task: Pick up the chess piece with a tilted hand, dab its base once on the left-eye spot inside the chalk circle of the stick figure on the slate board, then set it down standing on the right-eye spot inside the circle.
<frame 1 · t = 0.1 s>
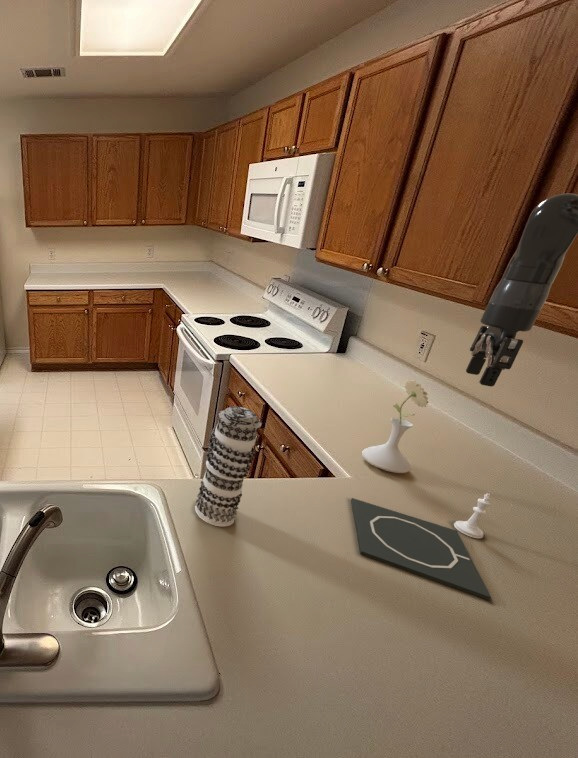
hand: (478, 379, 88), 33 cm above the countertop, tool pointing down, fingers open, 8 cm apart
chess piece: (467, 531, 92), on the countertop
decorative candle: (214, 513, 90), on the countertop
slate board: (410, 543, 86), on the countertop
flower in vase: (382, 464, 116), on the countertop
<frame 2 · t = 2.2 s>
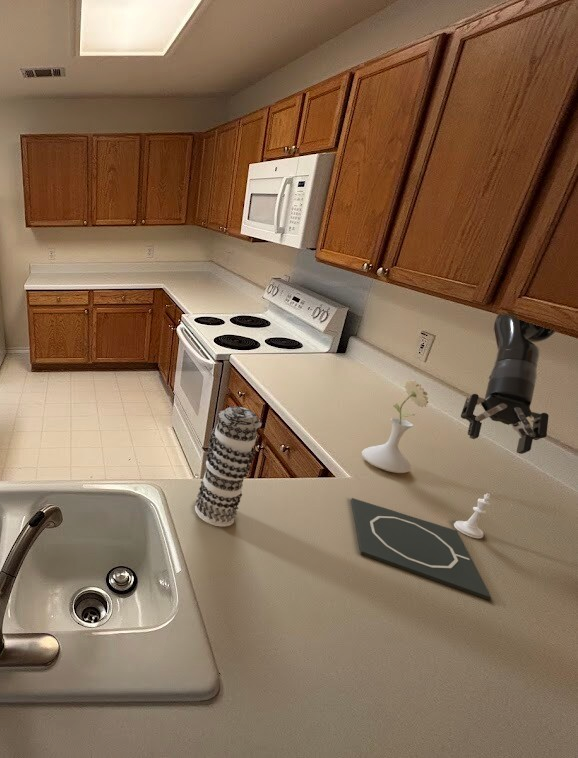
hand: (497, 445, 93), 18 cm above the countertop, tool tilted 40°, fingers open, 8 cm apart
nothing on the countertop moved.
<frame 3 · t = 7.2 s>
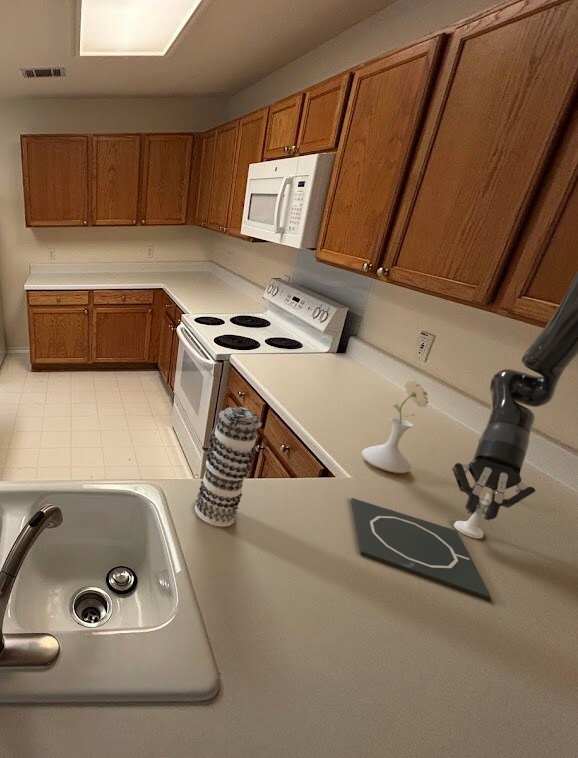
hand: (479, 515, 88), 5 cm above the countertop, tool tilted 45°, fingers closed on chess piece
chess piece: (467, 531, 92), on the countertop, touching gripper
everything else where it was.
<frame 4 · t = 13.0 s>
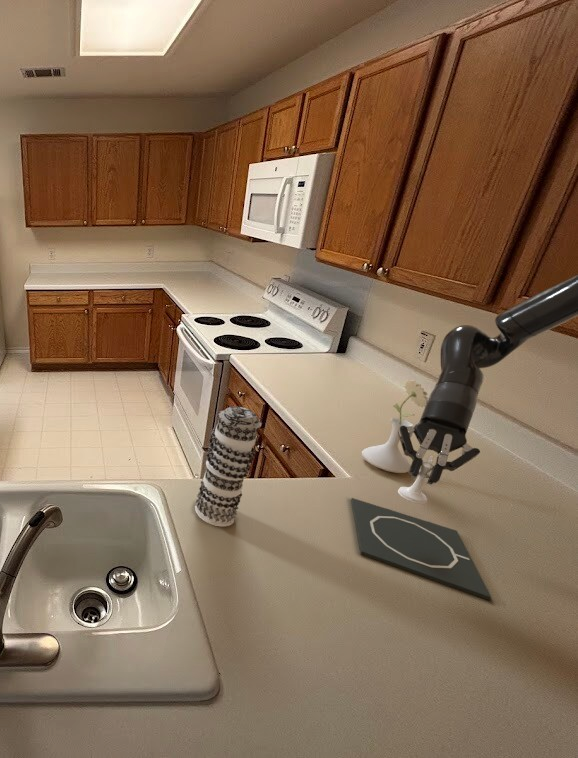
hand: (422, 479, 83), 14 cm above the countertop, tool tilted 45°, fingers closed on chess piece
chess piece: (411, 497, 87), point 9 cm above the countertop, touching gripper
everything else where it was.
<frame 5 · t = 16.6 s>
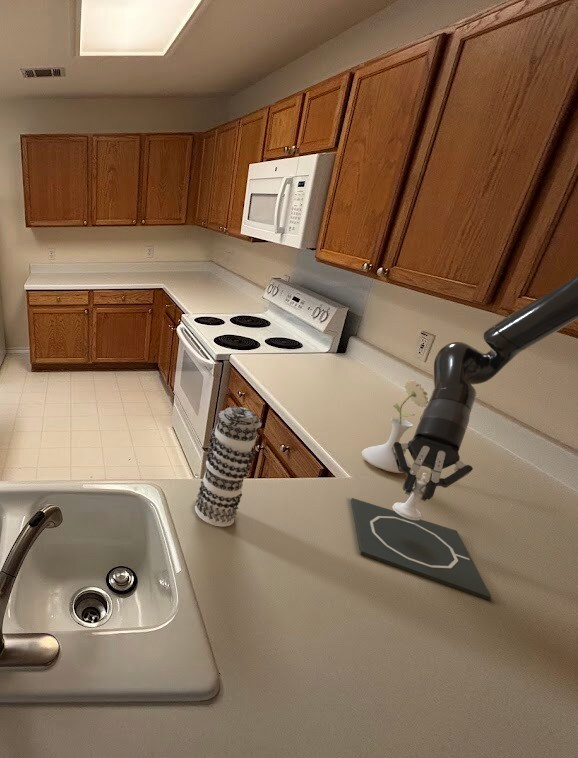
hand: (415, 496, 84), 11 cm above the countertop, tool tilted 45°, fingers closed on chess piece
chess piece: (405, 513, 88), point 5 cm above the countertop, touching gripper
everything else where it was.
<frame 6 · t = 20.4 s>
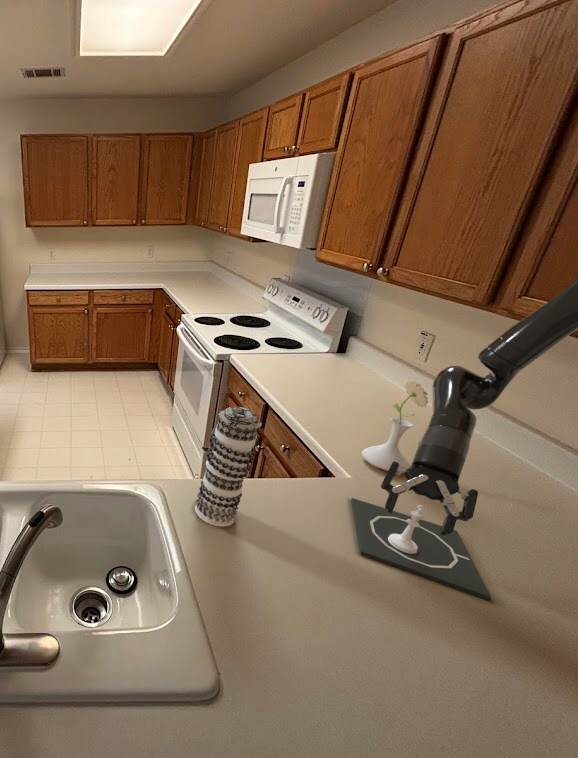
hand: (415, 522, 81), 7 cm above the countertop, tool tilted 45°, fingers open, 8 cm apart
chess piece: (401, 545, 85), point 1 cm above the countertop, touching slate board
everything else where it was.
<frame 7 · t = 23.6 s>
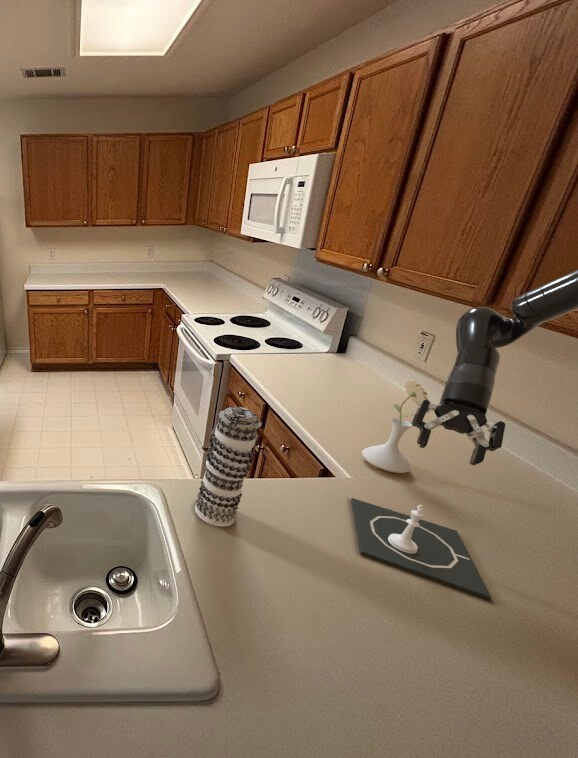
hand: (447, 455, 86), 18 cm above the countertop, tool tilted 45°, fingers open, 8 cm apart
nothing on the countertop moved.
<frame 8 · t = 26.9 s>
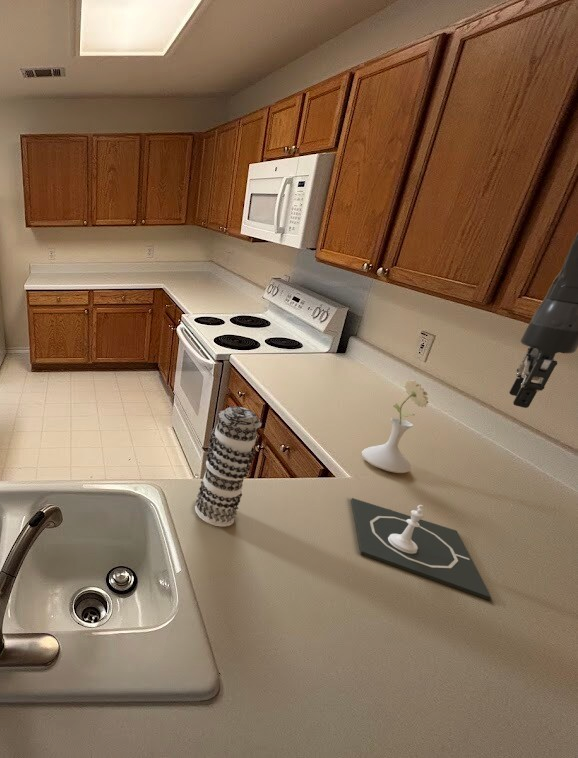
hand: (517, 400, 85), 30 cm above the countertop, tool pointing down, fingers open, 8 cm apart
nothing on the countertop moved.
at the end: chess piece 3.5 cm from the slate board (horizontally); chess piece tilted 0°; the gripper is holding nothing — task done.
